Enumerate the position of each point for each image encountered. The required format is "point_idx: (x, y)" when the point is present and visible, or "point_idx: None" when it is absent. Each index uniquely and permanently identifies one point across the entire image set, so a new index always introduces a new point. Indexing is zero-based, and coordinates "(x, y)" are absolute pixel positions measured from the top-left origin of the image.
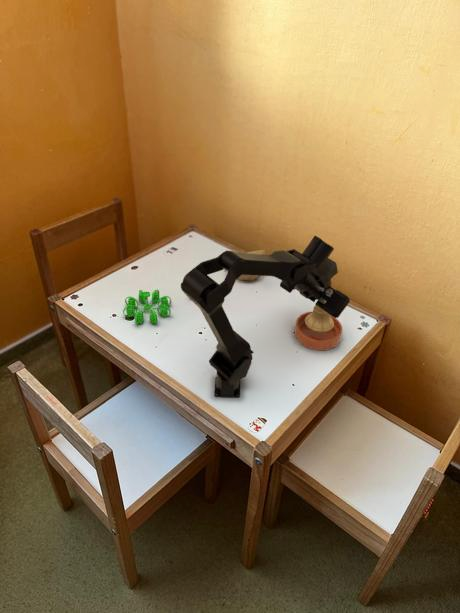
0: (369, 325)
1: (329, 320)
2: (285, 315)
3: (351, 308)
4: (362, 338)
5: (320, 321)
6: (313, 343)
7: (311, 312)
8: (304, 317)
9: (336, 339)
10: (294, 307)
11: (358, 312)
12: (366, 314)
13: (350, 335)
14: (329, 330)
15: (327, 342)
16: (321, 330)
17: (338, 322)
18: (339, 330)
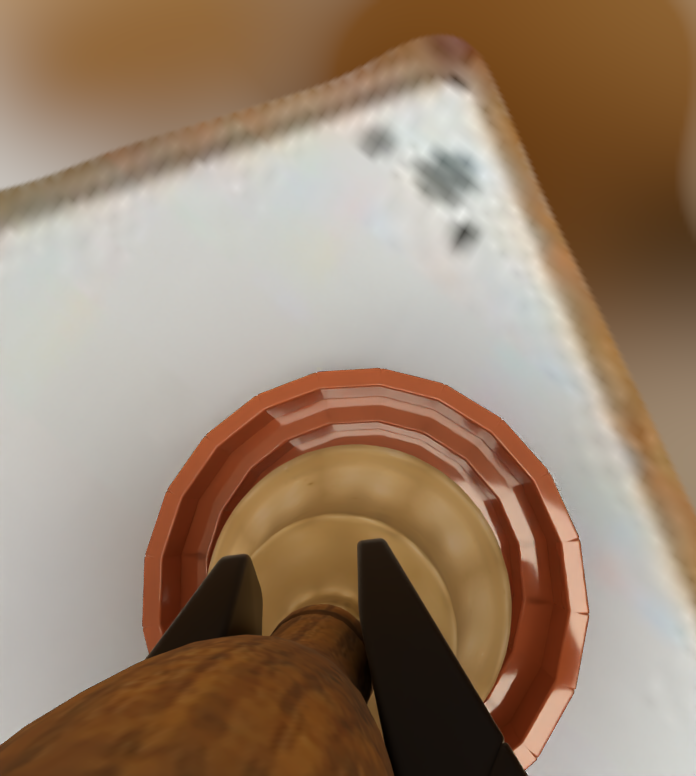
0: (471, 155)
1: (458, 563)
2: (40, 640)
3: (264, 145)
4: (560, 288)
5: None
6: None
7: (172, 513)
8: (174, 587)
9: (578, 555)
10: (13, 506)
11: (323, 131)
12: (369, 99)
13: (492, 342)
14: (510, 593)
15: (575, 664)
16: (486, 691)
17: (410, 388)
18: (470, 428)
